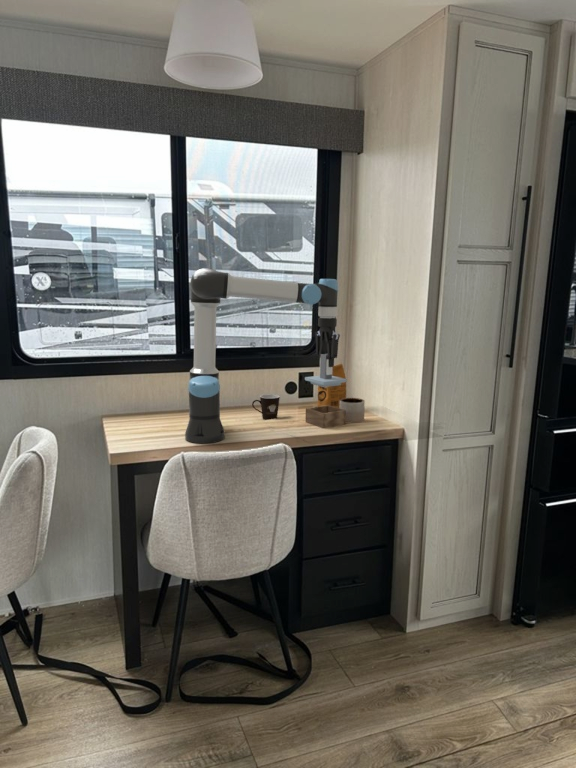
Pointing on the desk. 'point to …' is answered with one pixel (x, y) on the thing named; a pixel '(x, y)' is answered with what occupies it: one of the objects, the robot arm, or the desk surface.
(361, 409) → the planter
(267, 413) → the coffee mug
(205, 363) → the robot arm
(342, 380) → the lid
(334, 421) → the crate
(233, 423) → the desk surface
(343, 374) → the coffee package
